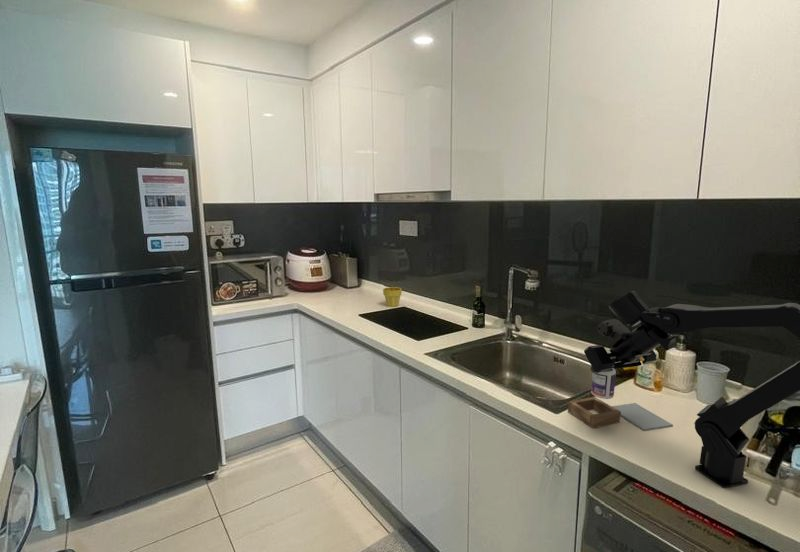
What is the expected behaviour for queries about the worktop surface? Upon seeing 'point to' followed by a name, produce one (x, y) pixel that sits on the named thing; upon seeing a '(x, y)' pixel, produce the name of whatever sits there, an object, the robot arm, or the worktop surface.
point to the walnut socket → (581, 408)
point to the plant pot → (392, 296)
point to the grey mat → (641, 417)
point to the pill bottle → (603, 384)
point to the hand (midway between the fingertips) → (600, 368)
